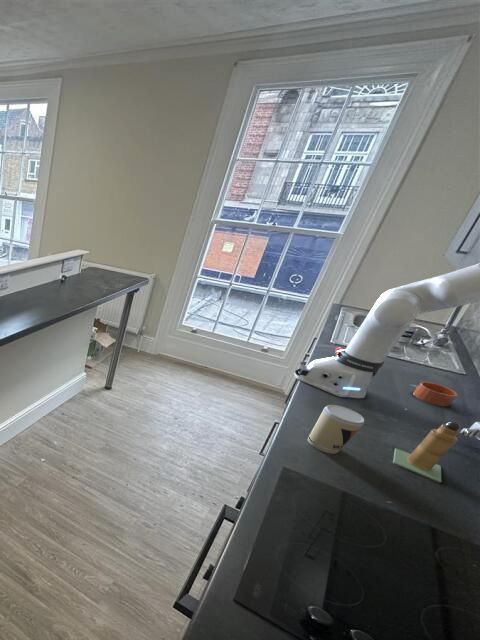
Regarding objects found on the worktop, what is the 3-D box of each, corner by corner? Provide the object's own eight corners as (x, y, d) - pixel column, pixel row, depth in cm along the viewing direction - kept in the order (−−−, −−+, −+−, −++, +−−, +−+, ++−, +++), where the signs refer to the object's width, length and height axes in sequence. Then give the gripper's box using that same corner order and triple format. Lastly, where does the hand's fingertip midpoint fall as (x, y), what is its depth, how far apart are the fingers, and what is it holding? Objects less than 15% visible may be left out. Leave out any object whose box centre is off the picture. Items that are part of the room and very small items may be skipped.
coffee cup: (332, 459, 116) (356, 426, 110) (298, 439, 123) (319, 407, 116) (347, 450, 120) (372, 418, 113) (313, 432, 127) (334, 401, 120)
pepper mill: (408, 455, 119) (444, 415, 111) (432, 466, 116) (470, 425, 108) (404, 461, 117) (440, 420, 109) (428, 472, 113) (467, 431, 105)
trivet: (392, 463, 116) (394, 462, 116) (394, 449, 122) (395, 448, 122) (440, 483, 110) (441, 481, 110) (439, 466, 117) (440, 465, 116)
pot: (411, 398, 152) (420, 387, 149) (412, 389, 158) (420, 379, 155) (448, 410, 146) (458, 399, 143) (447, 401, 152) (457, 390, 150)
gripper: (516, 423, 113) (457, 411, 116) (587, 470, 96) (516, 456, 99) (498, 440, 116) (441, 429, 119) (565, 489, 99) (497, 474, 102)
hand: (476, 441), depth 109 cm, fingers open, 8 cm apart
